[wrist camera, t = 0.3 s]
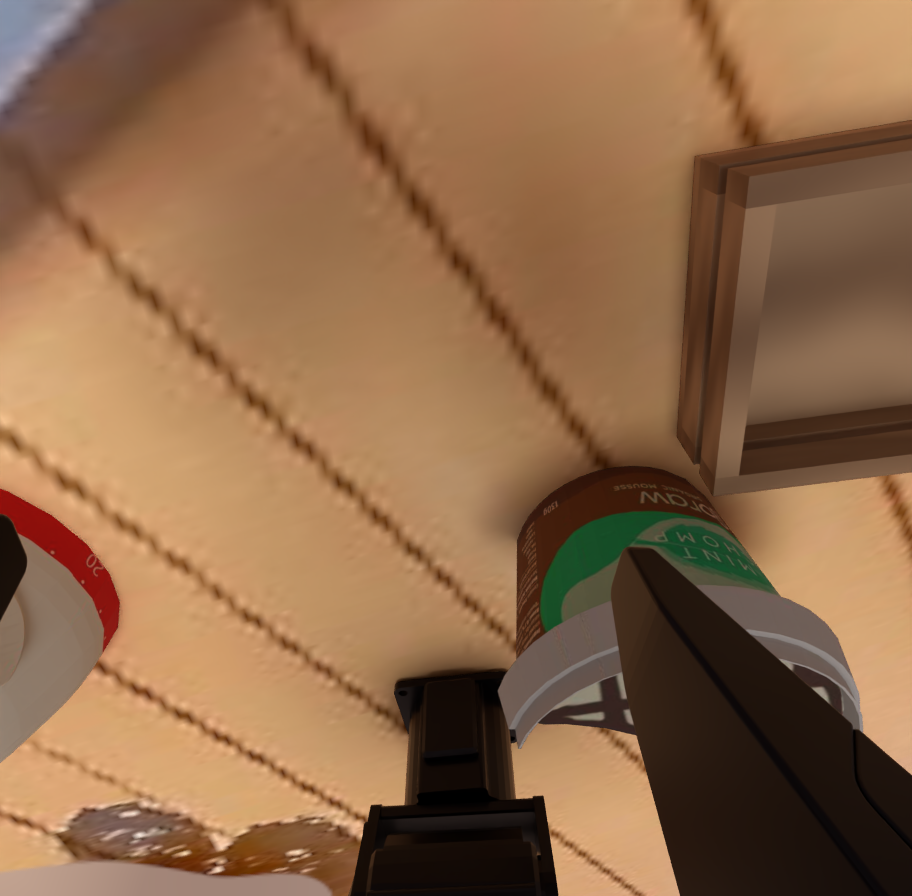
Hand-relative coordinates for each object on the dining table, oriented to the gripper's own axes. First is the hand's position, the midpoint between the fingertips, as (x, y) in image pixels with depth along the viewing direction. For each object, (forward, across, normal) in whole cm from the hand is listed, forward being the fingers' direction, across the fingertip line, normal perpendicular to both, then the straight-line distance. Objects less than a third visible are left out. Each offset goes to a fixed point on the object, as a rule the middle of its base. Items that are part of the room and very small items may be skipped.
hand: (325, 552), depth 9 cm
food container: (+14, -11, +9) cm, 20 cm away
